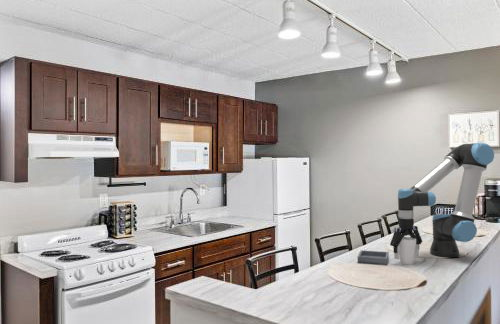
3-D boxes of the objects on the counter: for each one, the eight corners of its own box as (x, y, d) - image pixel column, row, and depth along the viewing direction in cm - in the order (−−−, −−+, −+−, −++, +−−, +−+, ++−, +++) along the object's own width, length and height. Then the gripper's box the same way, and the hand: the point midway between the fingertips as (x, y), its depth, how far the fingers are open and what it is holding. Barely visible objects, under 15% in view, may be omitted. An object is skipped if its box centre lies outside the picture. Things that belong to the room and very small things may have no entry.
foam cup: (418, 265, 200) (417, 240, 200) (399, 264, 202) (398, 240, 202) (414, 260, 210) (413, 236, 210) (396, 260, 212) (395, 236, 212)
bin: (388, 258, 216) (388, 252, 216) (387, 265, 202) (387, 258, 202) (360, 256, 221) (360, 250, 221) (357, 263, 207) (357, 256, 207)
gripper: (418, 215, 214) (418, 253, 214) (382, 218, 205) (383, 258, 205) (429, 216, 207) (429, 256, 207) (392, 220, 198) (393, 262, 198)
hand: (406, 257), depth 206 cm, fingers open, 13 cm apart
